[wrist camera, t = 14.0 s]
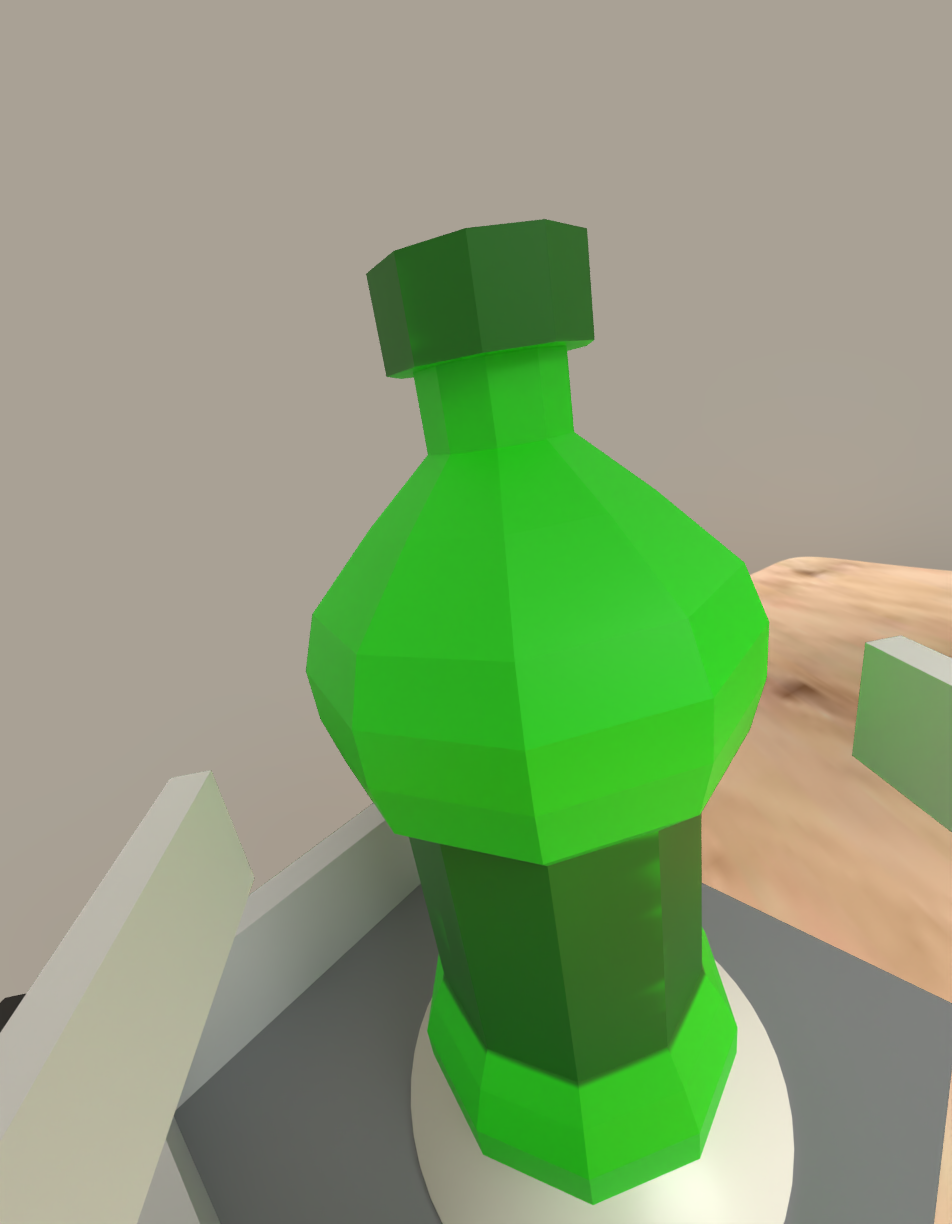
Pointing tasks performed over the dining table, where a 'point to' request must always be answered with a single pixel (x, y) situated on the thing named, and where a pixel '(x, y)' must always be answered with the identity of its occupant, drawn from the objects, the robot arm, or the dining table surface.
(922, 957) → the dining table surface
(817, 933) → the dining table surface
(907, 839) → the dining table surface
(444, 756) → the plastic bottle
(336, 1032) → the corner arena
